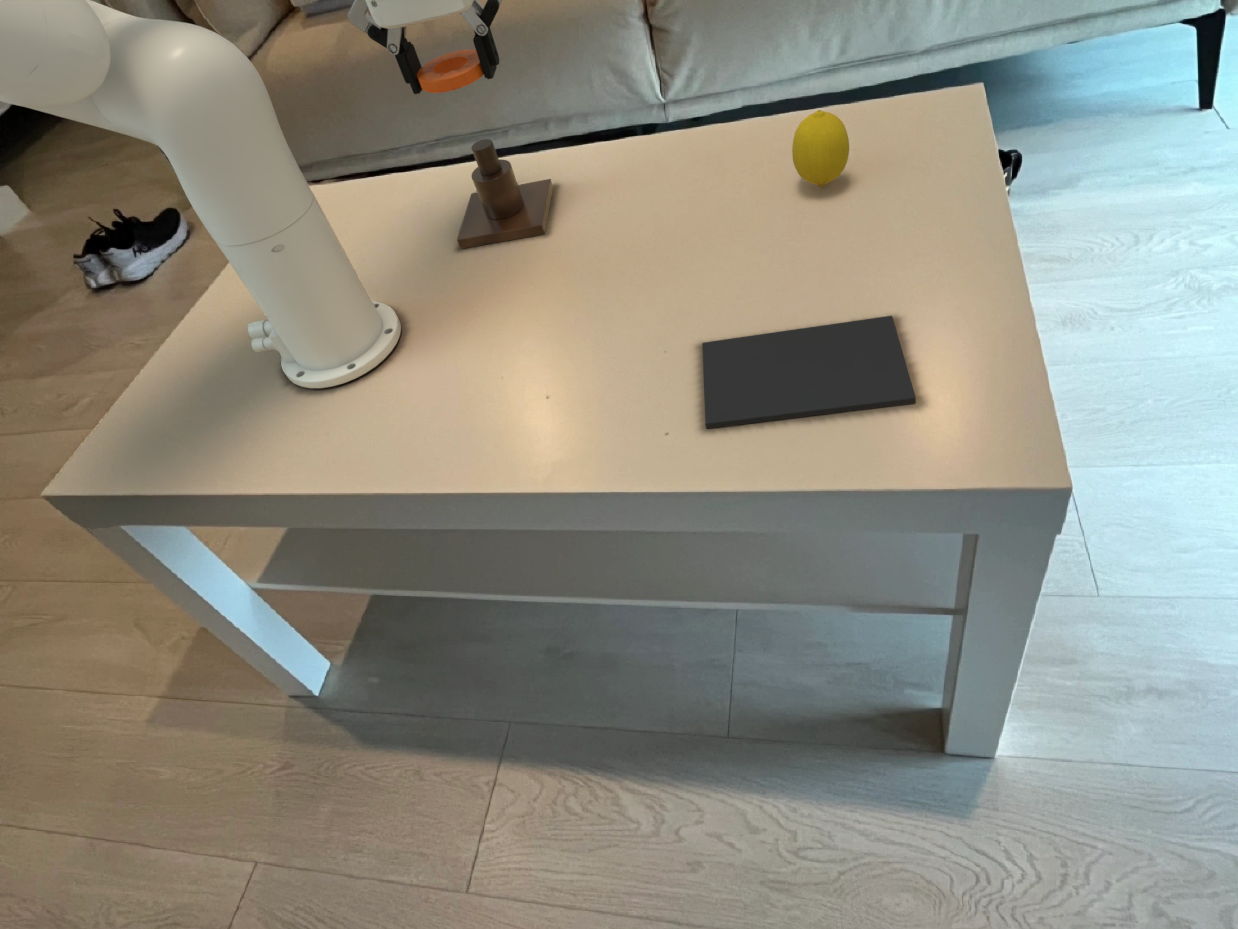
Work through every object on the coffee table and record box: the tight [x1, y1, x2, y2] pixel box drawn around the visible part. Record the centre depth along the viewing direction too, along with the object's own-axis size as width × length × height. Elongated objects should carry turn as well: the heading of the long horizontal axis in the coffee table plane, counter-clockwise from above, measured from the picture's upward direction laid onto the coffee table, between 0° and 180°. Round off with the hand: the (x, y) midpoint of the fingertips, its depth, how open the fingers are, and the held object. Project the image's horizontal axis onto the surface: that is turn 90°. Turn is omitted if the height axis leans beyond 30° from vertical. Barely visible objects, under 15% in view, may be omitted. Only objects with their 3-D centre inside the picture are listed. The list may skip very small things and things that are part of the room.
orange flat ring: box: [417, 49, 484, 94], centre depth 82 cm, size 7×7×1 cm
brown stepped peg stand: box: [456, 138, 554, 250], centre depth 91 cm, size 10×10×9 cm
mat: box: [701, 315, 917, 429], centre depth 67 cm, size 16×10×1 cm, turn 88°
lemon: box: [791, 109, 850, 188], centre depth 82 cm, size 6×6×8 cm
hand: (455, 79), depth 83 cm, fingers closed on orange flat ring, 7 cm apart
